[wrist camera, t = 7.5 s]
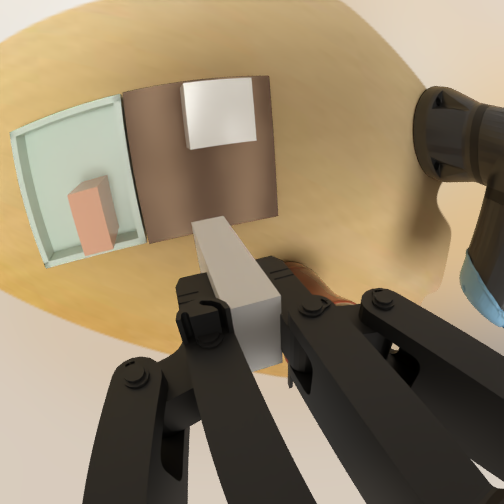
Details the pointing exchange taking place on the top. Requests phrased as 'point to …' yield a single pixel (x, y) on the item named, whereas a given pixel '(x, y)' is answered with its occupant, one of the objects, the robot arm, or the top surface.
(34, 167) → the tray
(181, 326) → the robot arm
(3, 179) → the top surface
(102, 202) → the tile terracotta
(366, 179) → the top surface
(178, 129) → the board
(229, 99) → the tile white
